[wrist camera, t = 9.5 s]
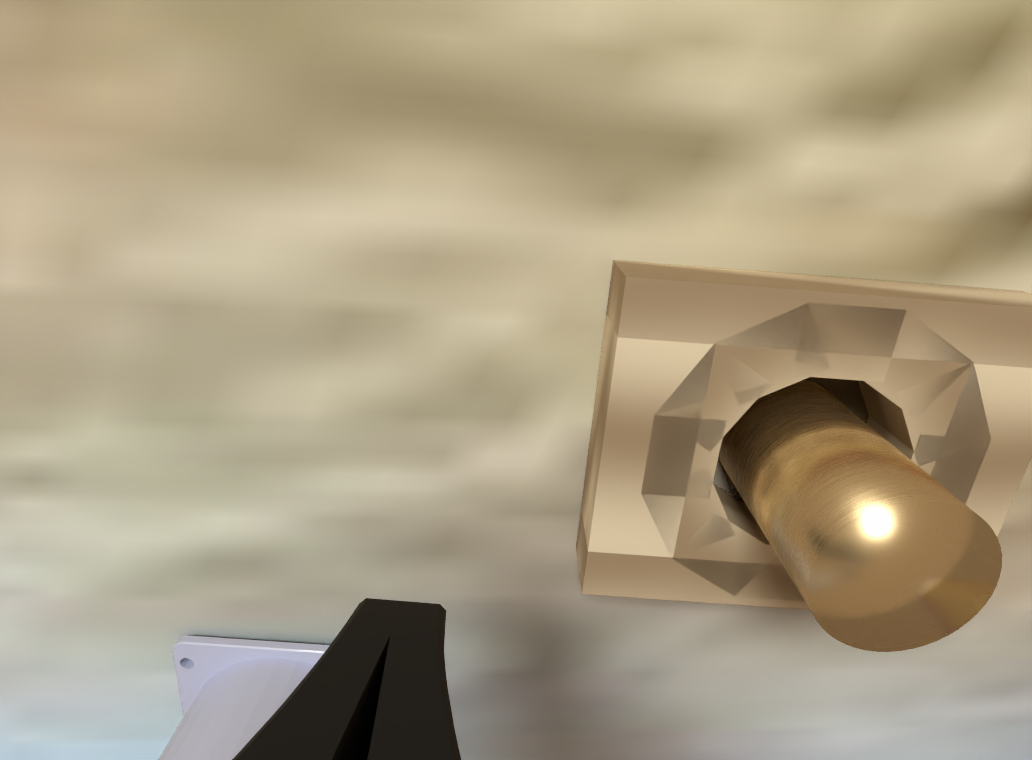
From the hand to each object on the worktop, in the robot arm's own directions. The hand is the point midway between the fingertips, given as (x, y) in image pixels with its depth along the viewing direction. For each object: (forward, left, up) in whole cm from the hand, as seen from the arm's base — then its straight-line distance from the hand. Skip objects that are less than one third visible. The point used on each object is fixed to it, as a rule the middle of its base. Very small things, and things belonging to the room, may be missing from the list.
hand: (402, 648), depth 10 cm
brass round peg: (0, -10, -10) cm, 14 cm away
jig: (0, -10, -10) cm, 14 cm away
